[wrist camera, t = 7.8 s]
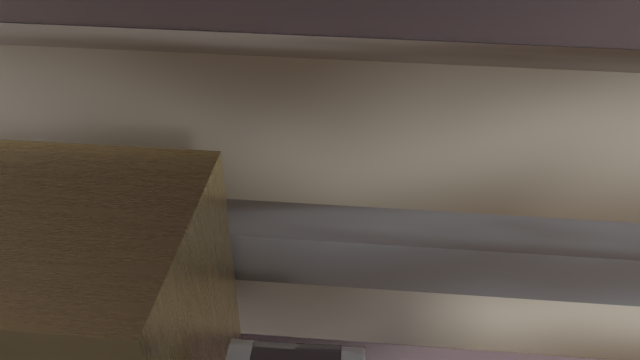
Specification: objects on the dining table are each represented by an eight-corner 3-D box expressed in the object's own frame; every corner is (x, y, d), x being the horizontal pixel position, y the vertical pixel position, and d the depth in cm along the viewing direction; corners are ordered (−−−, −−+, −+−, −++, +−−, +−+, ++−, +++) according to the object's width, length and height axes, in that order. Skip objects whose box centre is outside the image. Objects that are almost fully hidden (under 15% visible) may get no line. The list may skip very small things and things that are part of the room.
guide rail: (-383, 6, 14) (-1050, 170, 7) (767, 55, 12) (1214, 314, 6) (-182, 270, 20) (-455, 494, 13) (620, 325, 18) (764, 608, 12)
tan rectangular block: (-1, 139, 11) (-203, 315, 7) (220, 150, 11) (138, 339, 7) (79, 339, 15) (-24, 525, 11) (243, 351, 15) (198, 545, 11)
